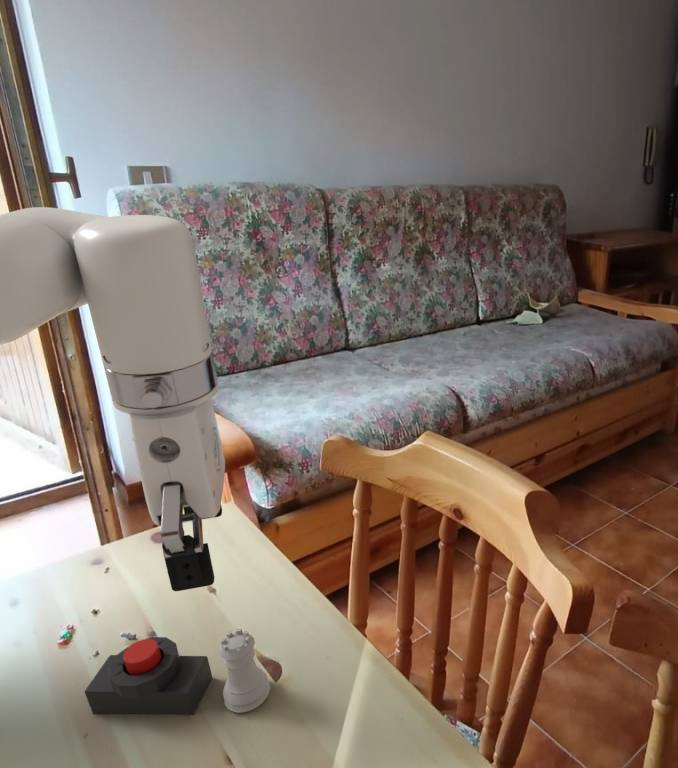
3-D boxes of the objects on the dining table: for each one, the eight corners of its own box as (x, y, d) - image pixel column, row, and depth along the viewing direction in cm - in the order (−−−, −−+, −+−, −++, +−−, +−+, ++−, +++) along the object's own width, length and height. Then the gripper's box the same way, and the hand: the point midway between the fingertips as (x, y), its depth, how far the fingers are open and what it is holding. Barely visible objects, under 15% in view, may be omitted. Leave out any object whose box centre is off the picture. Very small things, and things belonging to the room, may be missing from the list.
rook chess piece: (232, 724, 62) (218, 665, 58) (218, 693, 65) (204, 636, 61) (277, 699, 64) (266, 642, 61) (262, 670, 67) (250, 614, 64)
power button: (120, 676, 61) (116, 663, 60) (137, 651, 64) (133, 638, 63) (151, 676, 61) (147, 663, 60) (167, 651, 64) (163, 638, 63)
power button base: (87, 721, 62) (73, 685, 59) (121, 670, 67) (109, 636, 65) (190, 722, 62) (180, 686, 60) (215, 671, 67) (207, 637, 65)
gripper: (206, 422, 44) (240, 608, 51) (222, 336, 58) (247, 490, 65) (80, 436, 41) (135, 629, 48) (131, 342, 56) (167, 501, 63)
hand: (199, 549), depth 57 cm, fingers open, 9 cm apart
